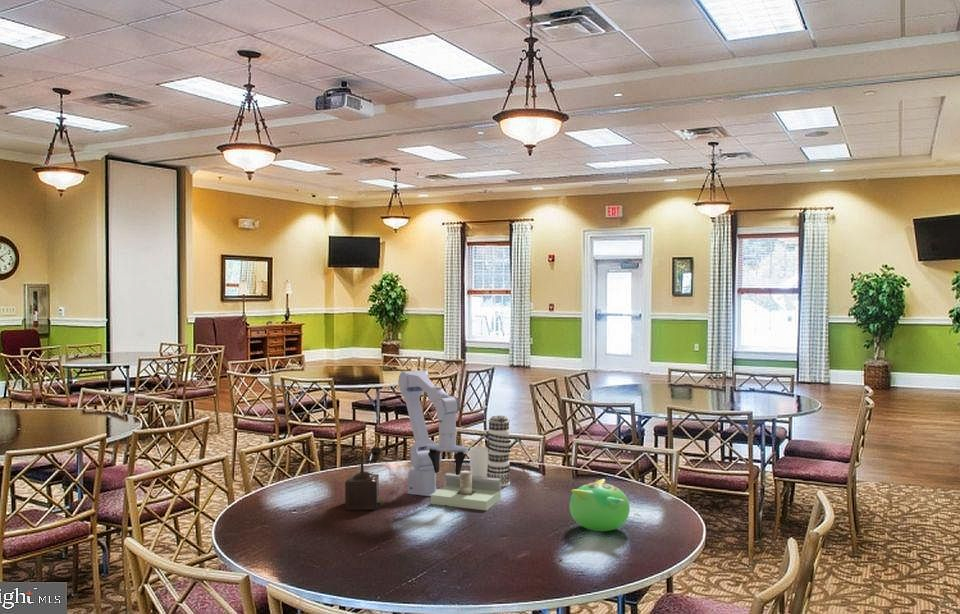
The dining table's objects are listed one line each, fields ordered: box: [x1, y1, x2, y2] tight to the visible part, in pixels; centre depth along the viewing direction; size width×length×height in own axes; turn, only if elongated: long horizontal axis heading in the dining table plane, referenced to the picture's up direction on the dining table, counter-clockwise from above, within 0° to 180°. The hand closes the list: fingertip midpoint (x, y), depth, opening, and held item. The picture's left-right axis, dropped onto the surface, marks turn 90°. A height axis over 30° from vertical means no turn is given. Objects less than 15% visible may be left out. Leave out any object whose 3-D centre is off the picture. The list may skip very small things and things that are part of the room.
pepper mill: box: [344, 446, 383, 512], centre depth 246 cm, size 16×11×18 cm
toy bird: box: [569, 478, 630, 532], centre depth 221 cm, size 18×17×15 cm
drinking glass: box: [469, 445, 489, 477], centre depth 263 cm, size 7×7×15 cm
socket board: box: [430, 472, 502, 511], centre depth 249 cm, size 20×14×7 cm
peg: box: [460, 470, 472, 496], centre depth 249 cm, size 4×4×10 cm
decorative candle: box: [486, 415, 512, 488], centre depth 271 cm, size 9×9×25 cm
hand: (447, 473), depth 246 cm, fingers open, 7 cm apart
